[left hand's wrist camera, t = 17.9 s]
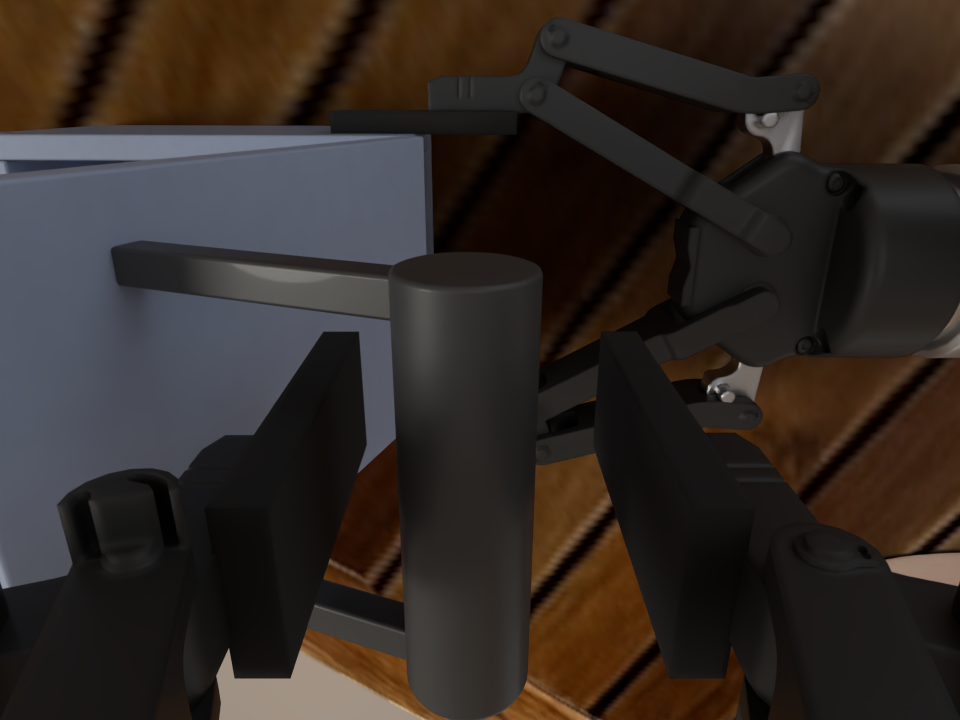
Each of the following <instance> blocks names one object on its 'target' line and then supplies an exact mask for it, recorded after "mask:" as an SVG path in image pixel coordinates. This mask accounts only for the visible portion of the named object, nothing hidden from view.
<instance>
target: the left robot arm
mask: <svg viewBox="0 0 960 720" xmlns="http://www.w3.org/2000/svg"><path fill="white" fill-rule="evenodd" d="M366 446H367V438H366V423H365V409H364V395H363V381H362V367H361V352H360V338H359V332H323V333H322V334H321V336H320V337H319V339H318V340H317V342H316V343H315V345H314V346H313V348H312V349H311V351H310V352H309V354H308V355H307V357H306V358H305V360H304V361H303V363H302V364H301V366H300V367H299V368H298V370H297V371H296V373H295V374H294V376H293V377H292V379H291V380H290V382H289V383H288V385H287V386H286V388H285V389H284V391H283V392H282V394H281V395H280V397H279V398H278V400H277V401H276V403H275V404H274V405H273V407H272V408H271V410H270V411H269V413H268V414H267V416H266V417H265V419H264V420H263V422H262V423H261V425H260V426H259V428H258V429H257V431H256V432H255V434H254V435H225V436H223V437H221V438H220V439H218V440H217V441H215V442H213V443H212V444H210V445H209V446H207V447H205V448H204V449H202V450H201V451H200V453H199V454H198V455H197V456H196V458H195V459H194V460H193V461H192V463H191V464H190V465H189V466H188V470H185V471H184V473H183V474H182V475H181V476H180V478H179V479H178V478H177V477H175V476H174V475H173V474H171V473H170V472H168V471H163V470H159V469H154V468H142V469H128V470H123V471H118V472H114V473H109V474H106V475H103V476H101V477H98V478H95V479H93V480H90V481H87V482H85V483H84V484H82V485H80V486H79V487H77V488H75V489H74V490H72V491H70V492H69V493H67V494H66V496H65V497H64V498H63V499H62V500H61V501H60V502H59V503H58V504H57V509H58V512H59V516H60V520H61V523H62V527H63V531H64V534H65V538H66V542H67V545H68V549H69V553H70V556H71V560H72V563H73V564H72V566H71V568H70V570H69V572H68V575H66V576H62V577H58V578H54V579H49V580H44V581H39V582H34V583H29V584H24V585H19V586H14V587H9V588H4V589H2V586H1V582H0V720H219V714H220V706H221V701H220V695H219V688H218V683H217V678H216V675H217V672H218V670H219V668H220V666H221V664H222V662H223V659H224V657H225V655H226V653H227V651H228V649H229V650H230V655H231V661H232V666H233V672H234V677H235V678H291V675H292V672H293V669H294V666H295V663H296V660H297V657H298V654H299V651H300V648H301V645H302V641H303V638H304V635H305V632H306V629H307V626H308V623H309V620H310V617H311V614H312V611H313V608H314V605H315V602H316V599H317V596H318V593H319V590H320V587H321V583H322V580H323V577H324V574H325V571H326V568H327V565H328V562H329V559H330V556H331V553H332V550H333V547H334V544H335V541H336V538H337V535H338V532H339V529H340V526H341V522H342V519H343V516H344V513H345V510H346V507H347V504H348V501H349V498H350V495H351V492H352V489H353V486H354V483H355V480H356V477H357V474H358V471H359V468H360V464H361V461H362V458H363V455H364V452H365V449H366ZM593 446H594V449H595V452H596V455H597V458H598V461H599V464H600V468H601V471H602V474H603V477H604V480H605V483H606V486H607V489H608V492H609V495H610V498H611V501H612V504H613V507H614V510H615V513H616V516H617V519H618V522H619V526H620V529H621V532H622V535H623V538H624V541H625V544H626V547H627V550H628V553H629V556H630V559H631V562H632V565H633V568H634V571H635V574H636V577H637V580H638V583H639V587H640V590H641V593H642V596H643V599H644V602H645V605H646V608H647V611H648V614H649V617H650V620H651V623H652V626H653V629H654V632H655V635H656V638H657V641H658V645H659V648H660V651H661V654H662V657H663V660H664V663H665V666H666V669H667V672H668V675H669V678H725V677H726V672H727V666H728V661H729V655H730V650H731V645H732V647H733V650H734V652H735V654H736V656H737V658H738V660H739V663H740V665H741V667H742V669H743V671H744V678H743V683H742V688H741V694H740V699H739V704H738V709H737V714H736V720H960V582H959V586H956V585H951V584H946V583H941V582H936V581H931V580H926V579H921V578H916V577H911V576H906V575H902V574H898V573H894V572H892V571H891V569H890V567H889V565H888V563H887V562H886V560H885V559H884V558H883V556H882V555H881V554H880V553H879V551H878V550H877V549H876V548H874V547H873V546H871V545H870V544H869V543H867V542H866V541H864V540H863V539H862V538H860V537H858V536H856V535H853V534H851V533H849V532H846V531H844V530H842V529H840V528H836V527H832V526H828V525H823V524H820V523H819V522H818V521H817V520H816V518H815V517H814V516H813V515H812V513H811V512H810V511H809V510H808V509H807V507H806V506H805V505H804V504H803V502H802V501H801V500H800V499H799V497H798V496H797V495H796V494H795V492H794V491H793V490H792V489H791V487H790V486H789V485H788V484H787V482H784V479H783V477H782V476H781V475H780V474H779V472H778V471H777V470H776V469H775V468H772V464H771V462H770V461H769V460H768V459H767V457H766V456H765V455H764V454H763V452H762V451H761V450H760V449H759V447H757V446H755V445H754V444H752V443H751V442H749V441H747V440H746V439H744V438H742V437H741V436H739V435H738V434H736V433H705V432H704V431H703V429H702V428H701V426H700V425H699V423H698V422H697V420H696V419H695V417H694V416H693V414H692V413H691V411H690V410H689V408H688V407H687V405H686V404H685V403H684V401H683V400H682V398H681V397H680V395H679V394H678V392H677V391H676V389H675V388H674V386H673V385H672V383H671V382H670V380H669V379H668V377H667V376H666V374H665V373H664V371H663V370H662V368H661V367H660V366H659V364H658V363H657V361H656V360H655V358H654V357H653V355H652V354H651V352H650V351H649V349H648V348H647V346H646V345H645V343H644V342H643V340H642V339H641V337H640V336H639V334H638V333H637V332H601V338H600V352H599V367H598V381H597V395H596V409H595V423H594V438H593Z"/></svg>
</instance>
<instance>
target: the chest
mask: <svg viewBox="0 0 960 720" xmlns="http://www.w3.org/2000/svg"><path fill="white" fill-rule="evenodd" d="M396 136H421V137H423V144H424V182H425V220H426V255H428V254H434V245H433V200H432V155H431V134H331V128H330V126H229V125H104V126H88V127H73V128H58V129H42V130H27V131H12V132H0V174H8V173H19V172H29V171H40V170H50V169H61V168H71V167H82V166H92V165H103V164H113V163H124V162H134V161H145V160H155V159H166V158H176V157H187V156H197V155H208V154H218V153H229V152H239V151H249V150H260V149H270V148H281V147H291V146H302V145H312V144H323V143H333V142H344V141H354V140H365V139H375V138H386V137H396Z"/></svg>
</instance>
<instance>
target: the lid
mask: <svg viewBox="0 0 960 720" xmlns="http://www.w3.org/2000/svg"><path fill="white" fill-rule="evenodd" d="M542 286H543V273H542V271H541V268H540V267H539V266H538V265H537V264H535V263H533V262H530V261H528V260H525V259H522V258H519V257H514V256H509V255H503V254H495V253H484V252H448V253H436V254H428V255H426V220H425V182H424V144H423V137H421V136H396V137H386V138H375V139H365V140H354V141H344V142H333V143H323V144H312V145H302V146H291V147H281V148H270V149H260V150H249V151H239V152H229V153H218V154H208V155H197V156H187V157H176V158H166V159H155V160H145V161H134V162H124V163H113V164H103V165H92V166H82V167H71V168H61V169H50V170H40V171H29V172H19V173H8V174H0V582H1V586H2V589H4V588H9V587H14V586H19V585H24V584H29V583H34V582H39V581H44V580H49V579H54V578H58V577H62V576H66V575H68V572H69V570H70V568H71V566H72V564H73V563H72V560H71V556H70V553H69V549H68V545H67V542H66V538H65V534H64V531H63V527H62V523H61V520H60V516H59V512H58V509H57V504H58V503H59V502H60V501H61V500H62V499H63V498H64V497H65V496H66V494H67V493H69V492H70V491H72V490H74V489H75V488H77V487H79V486H80V485H82V484H84V483H85V482H87V481H90V480H93V479H95V478H98V477H101V476H103V475H106V474H109V473H114V472H118V471H123V470H128V469H142V468H154V469H159V470H163V471H168V472H170V473H171V474H173V475H174V476H175V477H177V478H178V479H179V478H180V476H181V475H182V474H183V473H184V471H185V470H188V466H189V465H190V464H191V463H192V461H193V460H194V459H195V458H196V456H197V455H198V454H199V453H200V451H201V450H202V449H204V448H205V447H207V446H209V445H210V444H212V443H213V442H215V441H217V440H218V439H220V438H221V437H223V436H225V435H254V434H255V432H256V431H257V429H258V428H259V426H260V425H261V423H262V422H263V420H264V419H265V417H266V416H267V414H268V413H269V411H270V410H271V408H272V407H273V405H274V404H275V403H276V401H277V400H278V398H279V397H280V395H281V394H282V392H283V391H284V389H285V388H286V386H287V385H288V383H289V382H290V380H291V379H292V377H293V376H294V374H295V373H296V371H297V370H298V368H299V367H300V366H301V364H302V363H303V361H304V360H305V358H306V357H307V355H308V354H309V352H310V351H311V349H312V348H313V346H314V345H315V343H316V342H317V340H318V339H319V337H320V336H321V334H322V333H323V332H359V338H360V352H361V367H362V381H363V395H364V409H365V423H366V438H367V446H366V449H365V452H364V455H363V458H362V461H361V464H360V468H359V471H358V473H359V472H360V471H361V470H362V469H363V468H364V467H365V466H366V465H367V464H368V463H369V462H371V461H372V460H373V459H374V458H375V457H376V456H377V455H378V454H379V453H380V452H381V451H382V450H384V449H385V448H386V447H387V446H388V445H389V444H390V443H391V442H392V441H393V440H394V439H395V438H396V452H397V473H398V494H399V514H400V535H401V556H402V577H403V597H404V603H402V602H399V601H395V600H392V599H388V598H385V597H381V596H378V595H375V594H371V593H368V592H364V591H361V590H357V589H354V588H351V587H347V586H344V585H340V584H337V583H333V582H330V581H327V580H322V583H321V587H320V590H319V593H318V596H317V599H316V602H315V605H314V608H313V611H312V614H311V617H310V620H309V623H308V626H307V628H309V629H312V630H315V631H318V632H321V633H324V634H328V635H331V636H334V637H337V638H340V639H343V640H346V641H349V642H352V643H355V644H358V645H362V646H365V647H368V648H371V649H374V650H377V651H380V652H383V653H386V654H389V655H392V656H395V657H399V658H402V659H405V660H407V676H408V682H409V685H410V688H411V690H412V692H413V694H414V695H415V696H416V698H417V699H418V700H419V702H420V703H421V704H422V705H423V706H425V707H426V708H427V709H428V710H430V711H431V712H433V713H435V714H437V715H439V716H442V717H444V718H448V719H452V720H481V719H485V718H489V717H492V716H494V715H496V714H498V713H500V712H502V711H504V710H505V709H507V708H508V707H509V706H510V705H511V704H512V703H513V702H514V701H515V700H516V699H517V698H518V696H519V695H520V693H521V692H522V690H523V688H524V686H525V683H526V680H527V673H528V648H529V622H530V596H531V570H532V544H533V519H534V493H535V467H536V441H537V415H538V389H539V364H540V338H541V312H542Z"/></svg>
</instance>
